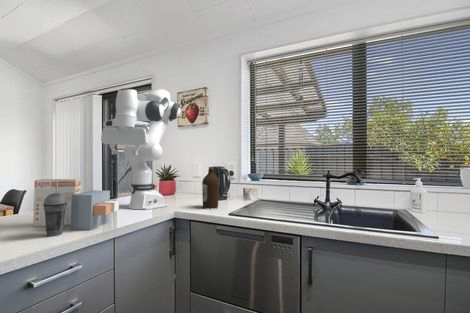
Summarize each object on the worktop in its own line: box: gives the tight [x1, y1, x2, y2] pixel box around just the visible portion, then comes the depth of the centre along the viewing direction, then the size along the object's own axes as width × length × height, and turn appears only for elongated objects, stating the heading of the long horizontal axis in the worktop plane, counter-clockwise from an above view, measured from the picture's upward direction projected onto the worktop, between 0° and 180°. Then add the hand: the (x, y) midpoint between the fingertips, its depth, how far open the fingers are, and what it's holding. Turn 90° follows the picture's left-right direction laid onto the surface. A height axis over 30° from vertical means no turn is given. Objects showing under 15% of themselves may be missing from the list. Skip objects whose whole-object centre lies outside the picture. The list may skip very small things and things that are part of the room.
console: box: [70, 189, 111, 231], centre depth 99 cm, size 8×14×14 cm, turn 1°
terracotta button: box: [93, 204, 112, 215], centre depth 96 cm, size 6×4×4 cm, turn 91°
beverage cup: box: [43, 181, 67, 237], centre depth 86 cm, size 7×7×20 cm
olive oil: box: [201, 166, 220, 210], centre depth 141 cm, size 11×11×25 cm
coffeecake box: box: [32, 178, 82, 228], centre depth 100 cm, size 15×7×20 cm, turn 105°
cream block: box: [103, 200, 120, 213], centre depth 103 cm, size 6×4×4 cm, turn 91°
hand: (124, 154), depth 102 cm, fingers open, 8 cm apart
